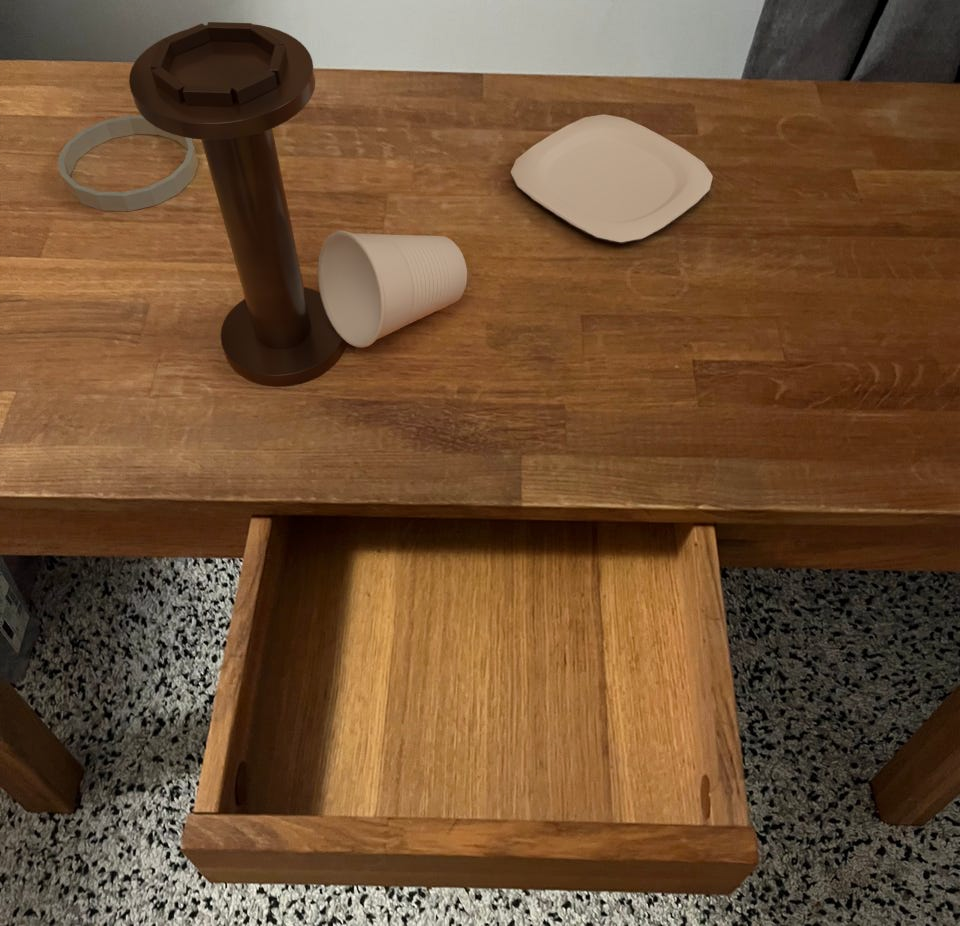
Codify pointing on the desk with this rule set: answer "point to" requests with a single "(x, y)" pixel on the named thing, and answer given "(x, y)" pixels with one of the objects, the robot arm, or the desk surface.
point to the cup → (386, 281)
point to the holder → (246, 182)
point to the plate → (612, 178)
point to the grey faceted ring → (133, 197)
